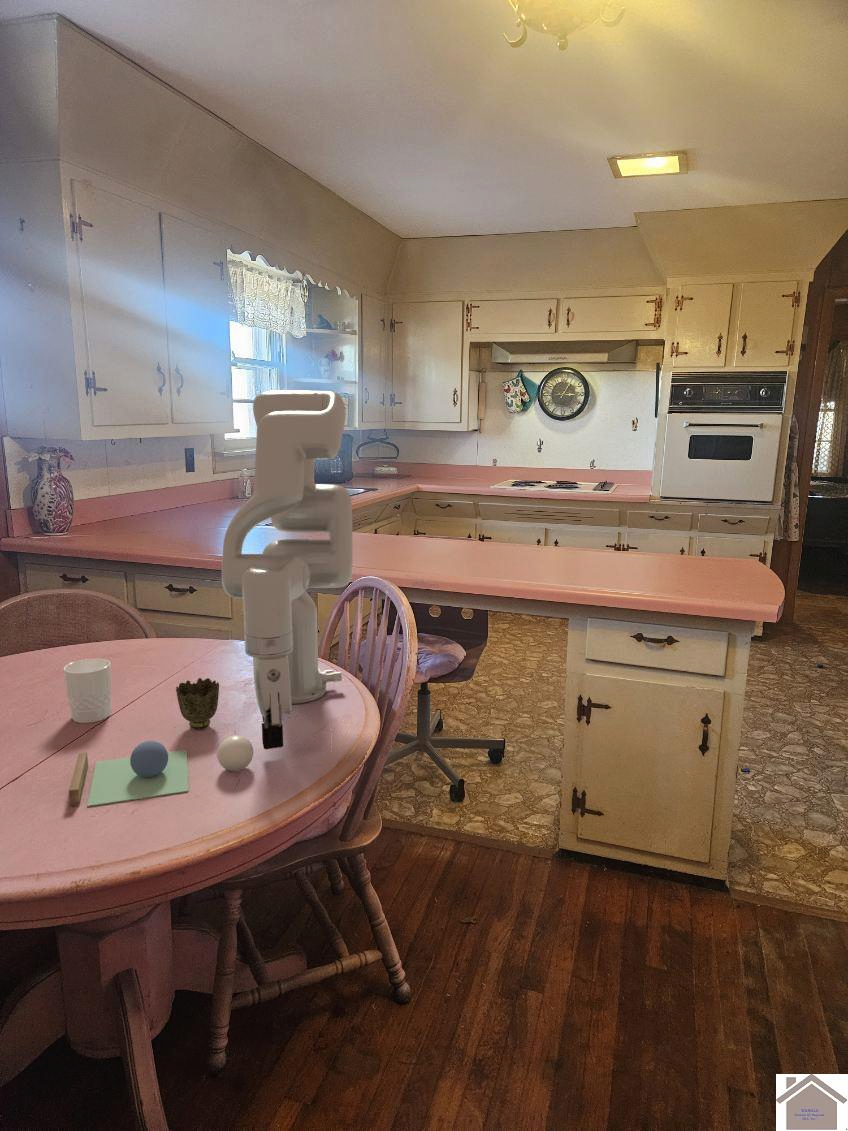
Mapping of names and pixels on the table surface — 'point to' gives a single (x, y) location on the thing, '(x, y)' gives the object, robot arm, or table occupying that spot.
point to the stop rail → (78, 779)
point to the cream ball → (235, 753)
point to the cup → (198, 702)
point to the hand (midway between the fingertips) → (273, 745)
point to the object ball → (149, 759)
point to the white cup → (89, 689)
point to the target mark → (136, 780)
